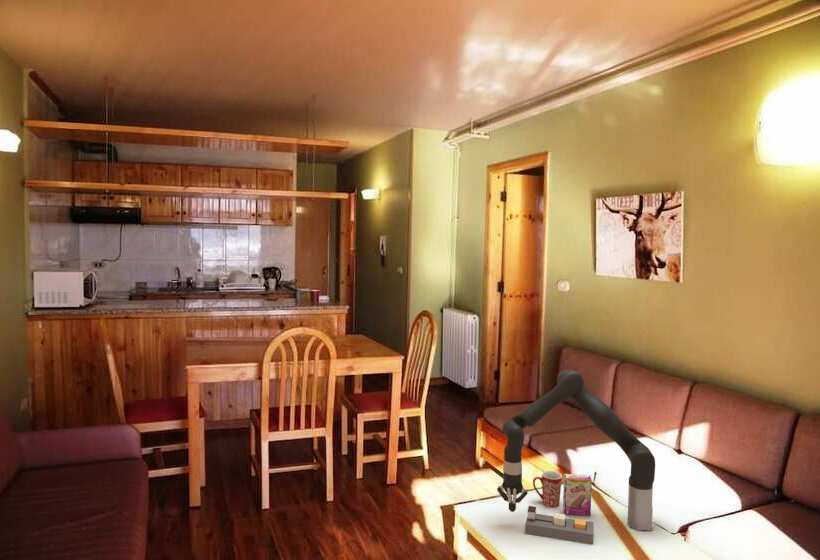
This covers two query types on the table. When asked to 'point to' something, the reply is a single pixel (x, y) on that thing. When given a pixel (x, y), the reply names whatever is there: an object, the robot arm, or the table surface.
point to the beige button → (559, 519)
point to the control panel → (559, 529)
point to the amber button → (580, 524)
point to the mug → (550, 488)
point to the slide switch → (531, 512)
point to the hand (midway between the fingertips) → (512, 510)
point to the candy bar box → (577, 494)
